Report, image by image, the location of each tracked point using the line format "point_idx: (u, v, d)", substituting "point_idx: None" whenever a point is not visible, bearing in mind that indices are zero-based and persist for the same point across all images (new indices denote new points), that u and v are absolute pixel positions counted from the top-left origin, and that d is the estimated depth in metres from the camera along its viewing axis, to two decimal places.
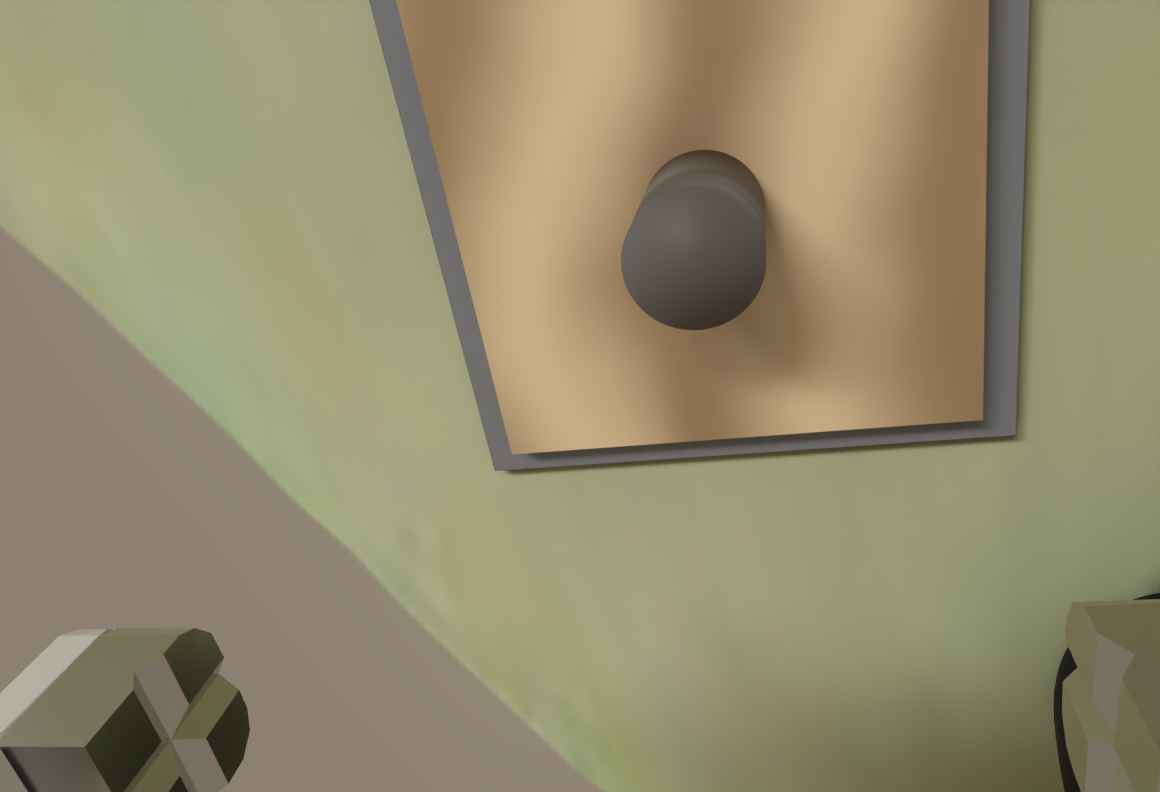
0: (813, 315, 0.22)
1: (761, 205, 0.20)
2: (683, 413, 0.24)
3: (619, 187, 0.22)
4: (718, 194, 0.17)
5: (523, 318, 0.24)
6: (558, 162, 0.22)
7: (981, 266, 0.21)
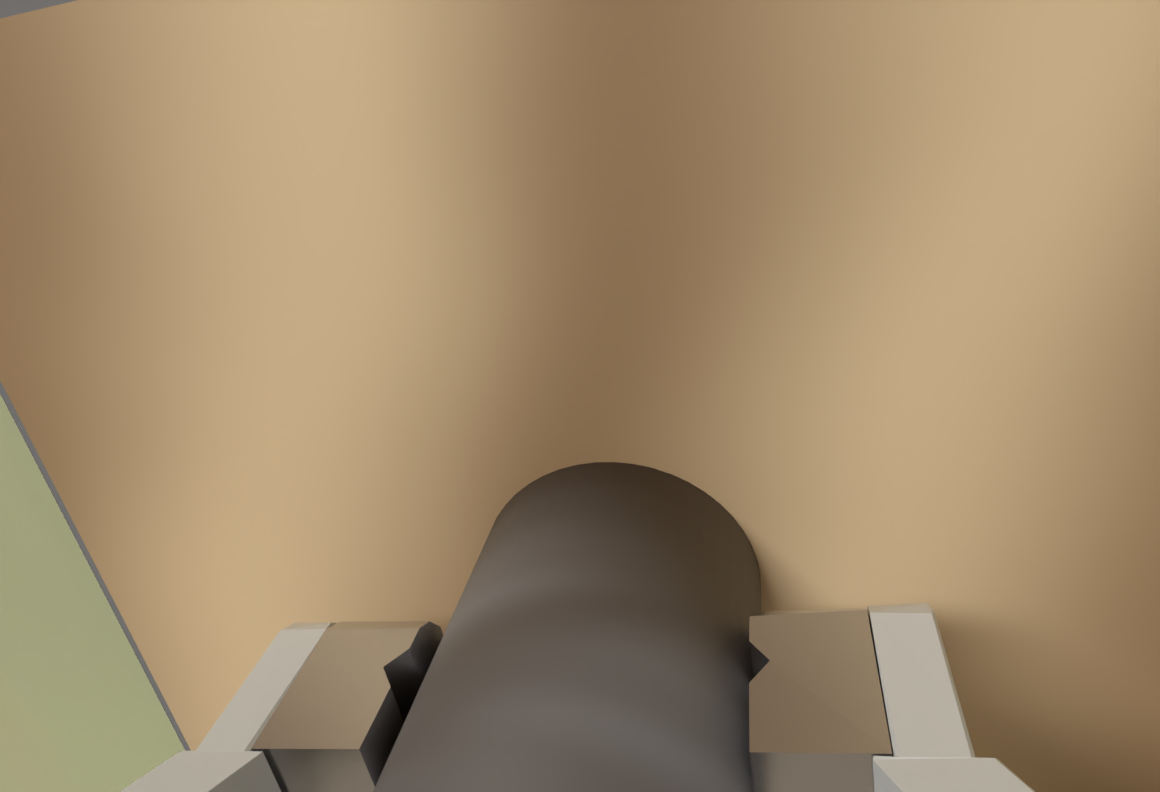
0: None
1: None
2: None
3: (429, 524, 0.09)
4: None
5: None
6: (290, 467, 0.09)
7: None
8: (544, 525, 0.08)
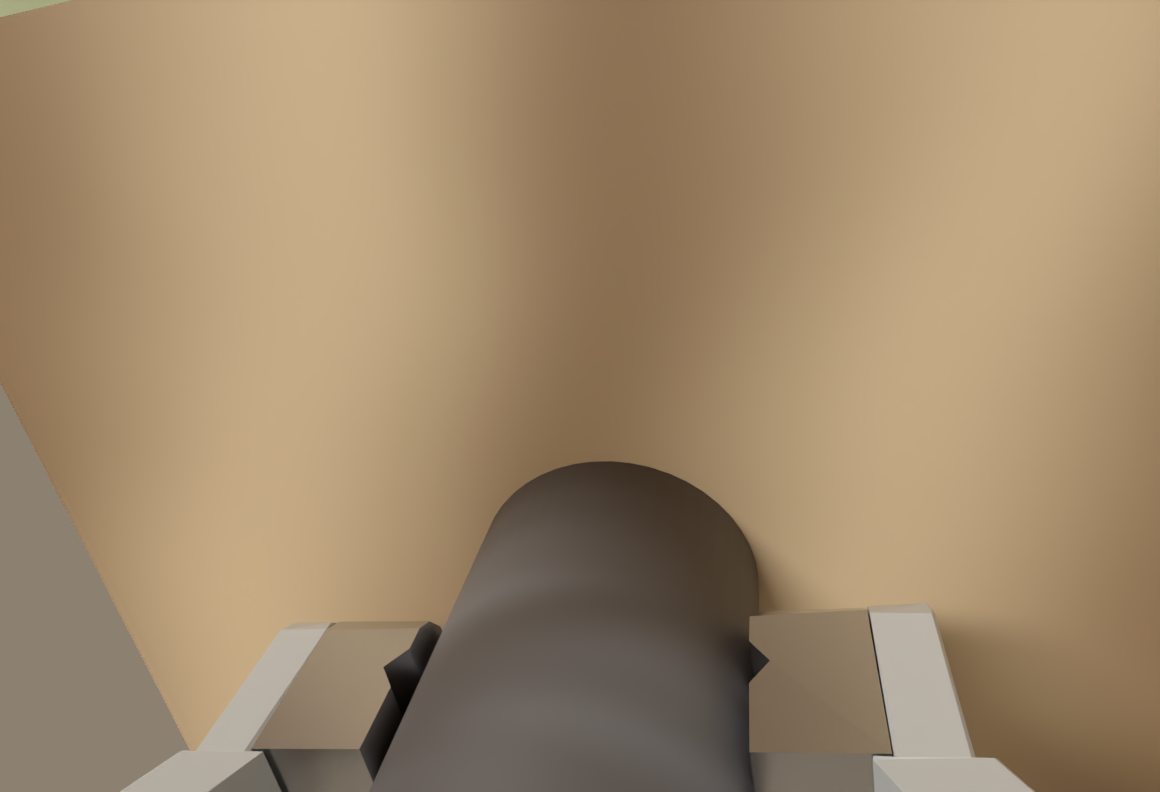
0: None
1: (749, 654, 0.08)
2: None
3: (427, 522, 0.09)
4: None
5: None
6: (288, 466, 0.09)
7: None
8: (541, 524, 0.08)
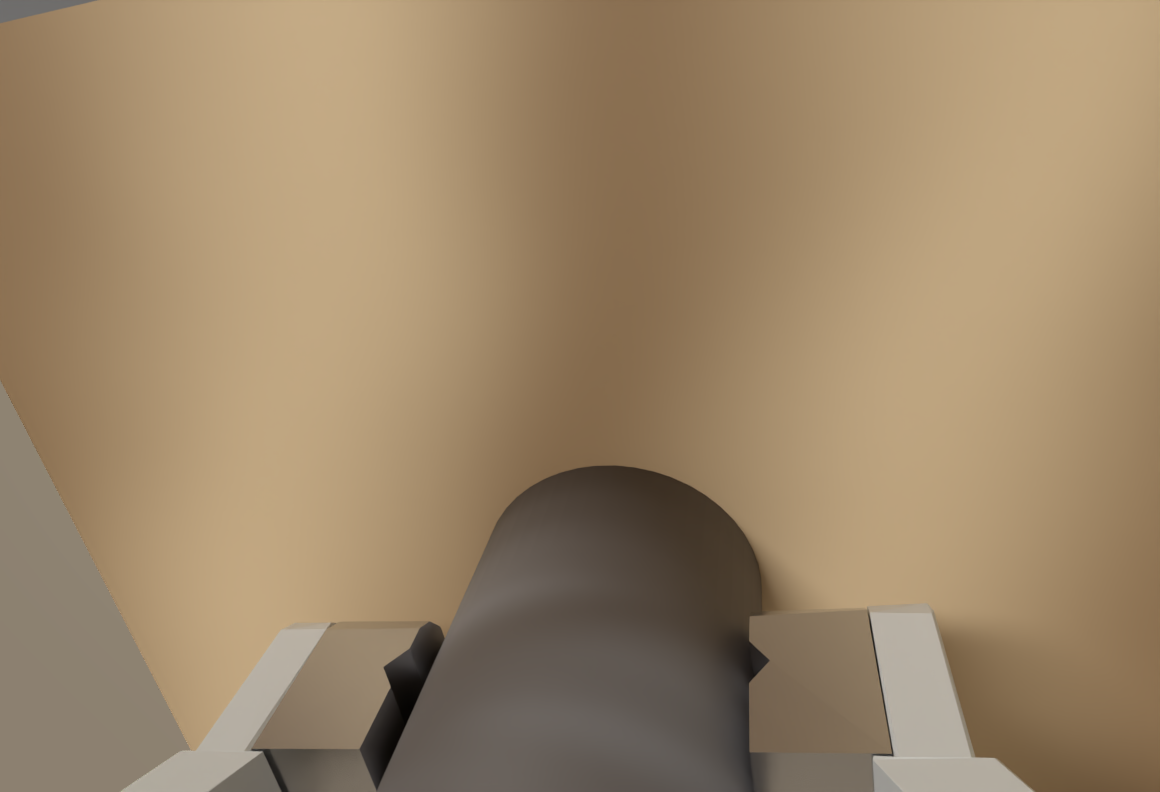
0: None
1: None
2: None
3: (430, 526, 0.09)
4: None
5: None
6: (291, 470, 0.09)
7: None
8: (545, 529, 0.08)
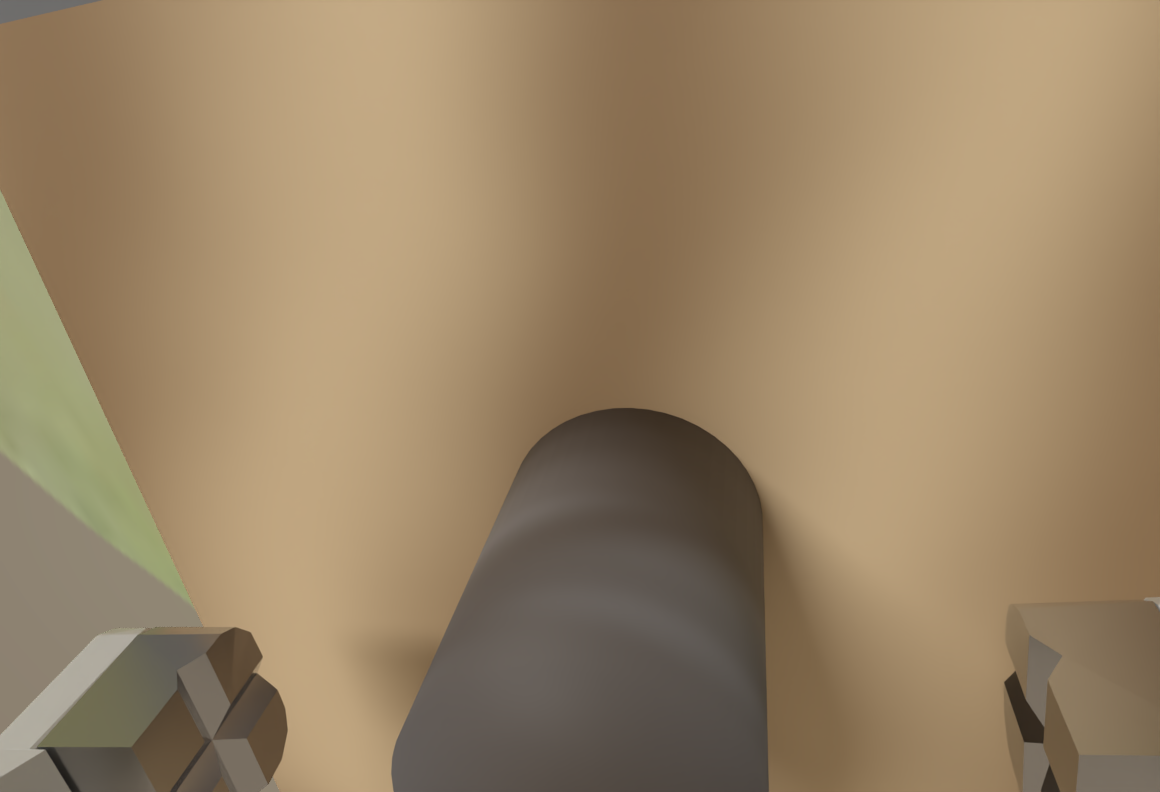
0: (860, 710, 0.11)
1: (755, 572, 0.08)
2: None
3: (460, 467, 0.10)
4: (635, 672, 0.06)
5: (303, 669, 0.12)
6: (334, 415, 0.10)
7: None
8: (569, 459, 0.09)
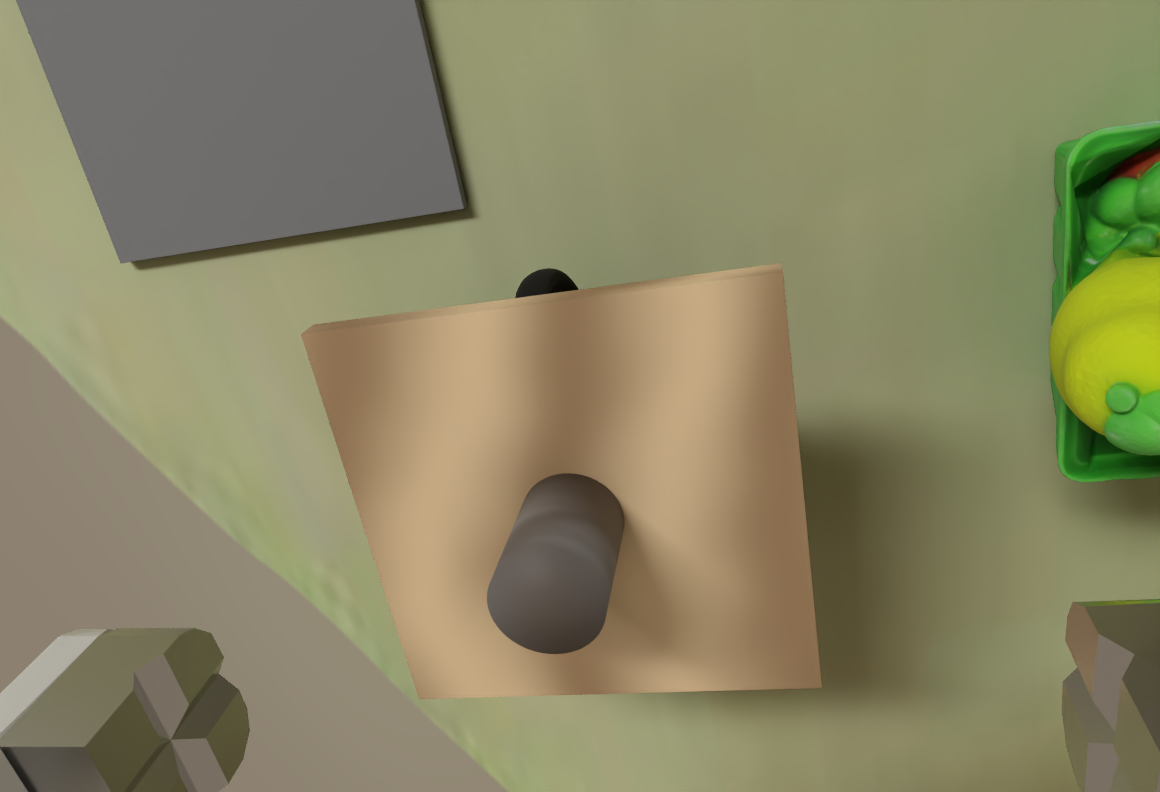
0: (671, 601, 0.26)
1: (613, 534, 0.23)
2: (566, 672, 0.27)
3: (500, 497, 0.25)
4: (563, 556, 0.21)
5: (424, 591, 0.27)
6: (448, 476, 0.25)
7: (807, 570, 0.24)
8: (545, 494, 0.24)
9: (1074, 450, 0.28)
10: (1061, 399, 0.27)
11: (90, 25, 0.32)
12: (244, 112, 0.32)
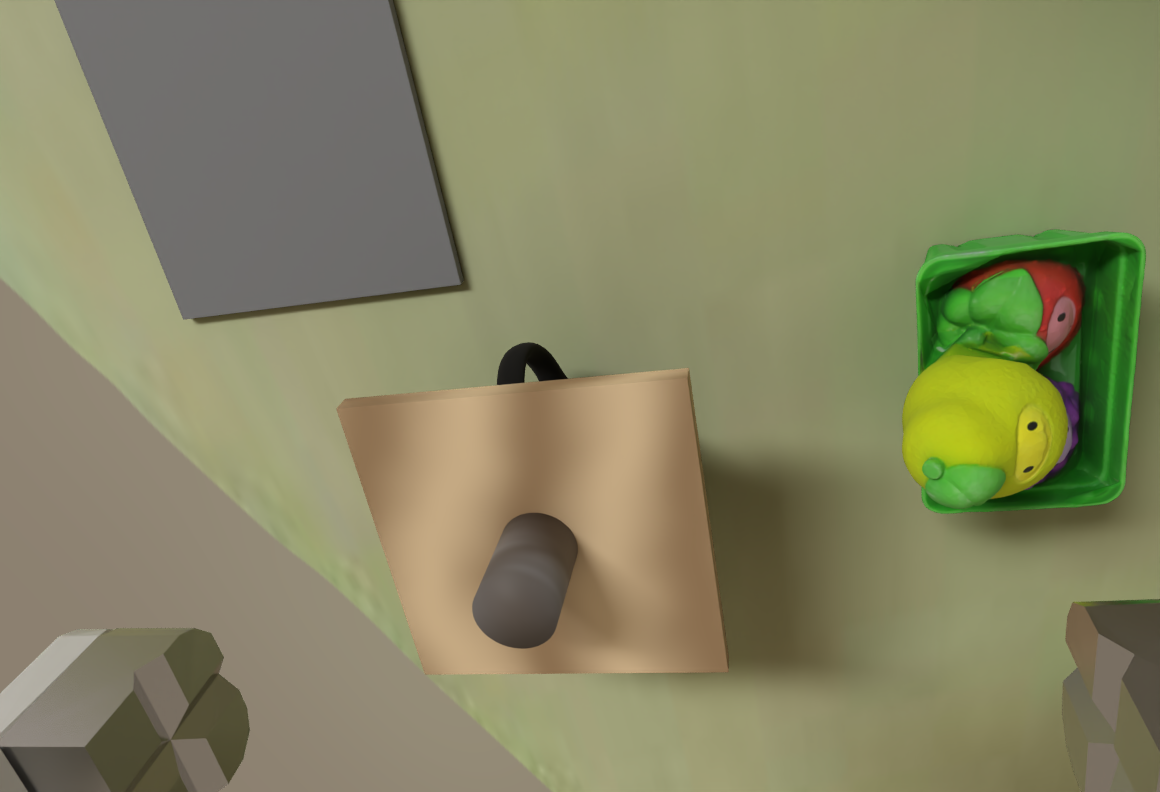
0: (614, 606, 0.34)
1: (566, 561, 0.31)
2: (537, 657, 0.36)
3: (485, 528, 0.33)
4: (526, 581, 0.29)
5: (428, 595, 0.35)
6: (446, 512, 0.33)
7: (714, 586, 0.33)
8: (517, 529, 0.32)
9: None
10: None
11: (161, 137, 0.40)
12: (284, 206, 0.40)
